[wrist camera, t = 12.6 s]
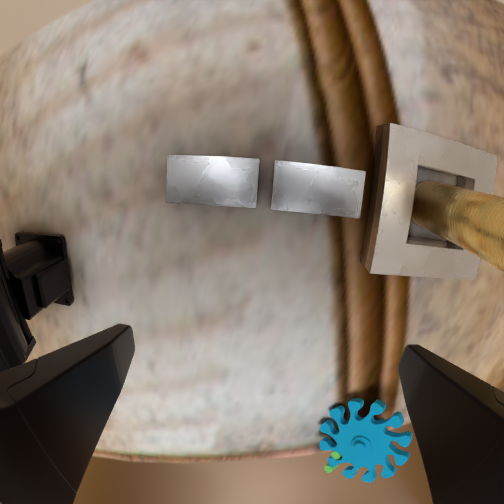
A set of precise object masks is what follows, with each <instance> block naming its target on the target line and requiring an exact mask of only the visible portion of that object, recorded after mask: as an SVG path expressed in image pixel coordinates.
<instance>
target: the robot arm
mask: <svg viewBox="0 0 504 504" xmlns="http://www.w3.org/2000/svg"><path fill="white" fill-rule="evenodd" d="M19 237H20V238H19ZM59 240H60V242H59ZM15 241H16V247H14V248H12V249H9V250H7V251H5V252H3V250H2V247H1V246H2V242H1V239H0V504H73V502H74V499H75V497H76V494H77V493H76V492H77V491H78V489H79V486H80V484H81V481H82V479H83V476H84V474H85V471H86V469H87V467H88V464H89V462H90V459H91V457H92V455H93V452H94V450H95V448H96V445H97V443H98V441H99V438H100V436H101V434H102V432H103V429H104V427H105V425H106V423H107V421H108V418H109V416H110V414H111V412H112V410H113V407H114V405H115V403H116V401H117V399H118V397H119V395H120V392H121V390H122V387H123V385H124V382H125V379H126V376H127V373H128V370H129V367H130V364H131V361H132V358H133V355H134V352H135V344H134V338H133V331H132V327H131V326H130V325H125V324H117V325H115V326H112V327H110V328H108V329H105V330H103V331H101V332H98V333H96V334H94V335H91V336H89V337H87V338H84V339H82V340H79V341H77V342H75V343H72V344H70V345H68V346H65V347H63V348H60V349H58V350H56V351H53V352H51V353H48V354H46V355H44V356H41V357H39V358H38V359H34V360H31V361H29V362H27V363H25V362H26V360H27V358H28V356H29V354H30V353H31V351H32V349H33V347H34V345H35V344H36V341H35V338H34V336H32V334H31V332H30V329H29V327H28V325H27V322H26V319H27V320H30V319H32V318H33V317H34V316H35V315H36V314H38V313H39V312H40V311H41V310H42V309H44V308H47V307H48V306H49V305H51V304H52V303H58V304H62V305H67V306H70V305H71V304H72V303H73V295H72V290H71V283H70V277H69V270H68V262H67V254H66V245H65V239H64V237H63V236H62V235H56V234H43V233H30V232H18V233H16V234H15ZM67 299H68V300H69V301H68V300H67ZM398 371H399V376H400V380H401V385H402V389H403V394H404V398H405V403H406V407H407V410H408V413H409V417H410V420H411V423H412V426H413V429H414V433H415V436H416V439H417V443H418V446H419V450H420V453H421V457H422V460H423V464H424V468H425V472H426V476H427V480H428V484H429V488H430V493H431V497H432V502H433V504H504V392H503V391H501V390H499V389H497V388H495V387H494V386H491V385H490V384H488V383H486V382H485V381H483V380H481V379H479V378H477V377H476V376H474V375H472V374H470V373H468V372H467V371H465V370H463V369H461V368H459V367H458V366H456V365H454V364H452V363H450V362H449V361H447V360H445V359H443V358H441V357H440V356H438V355H436V354H434V353H432V352H431V351H429V350H427V349H425V348H423V347H422V346H420V345H417V344H414V345H407V346H406V347H405V349H404V352H403V355H402V357H401V360H400V362H399V366H398Z"/></svg>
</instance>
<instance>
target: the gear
mask: <svg viewBox="0 0 504 504" xmlns="http://www.w3.org/2000/svg"><path fill="white" fill-rule="evenodd" d="M363 405H364V401H363V400H362V399H359V398H353V399H352V400H350V401H349V403H348V407H349V409H350V420H349V421H346V420H344V418H343V415H344V412H345V409H344V407H343V406H342V405H340V406H337V407H335V408H333V409H332V410H330V411H329V413H330V416H331V417H332V418H334V420H335V421H336V422H337V424H338V427H339V431H337V430H335V428H334V424H333V422H332V421H331V420H329V419H328V420H327V421H325V422H324V423H323V424H322V425H321V426H320V428H319V429H320V431H321V432H323V433H326V434H328V435H330V436H331V437H332V438H333V439H334V440H335V441H336V442H337V444H335V443H334V442H333V441H332V440H331V439H330V438H328V437H325V438H324V439H322V440H321V442H320V449H321V450H324V451H326V450H333V452H332V454H331V456H330V457H329V458H328V459H327V460H328V464H327V465H326V466H325V467H324V470H325V471H326V472H328V473H331V472H332V471H333V470H334V469H335V468H336V467H337V466H338V464H340V463H346V462H348V463H352V464H353V466H349V467H347V468H346V469H345V470H344V471H343V475H344V476H345V477H347V478H348V479H351V478H352V477H353V476H354V475H355V474H356V473H357V469H359V468H361V467H366V468H368V471H367V472H366V473H365V474H364V475H363V477H362V480H363V481H366V482H371V483H372V482H373V481H374V479H375V478H376V476H377V475H376V472H375V467H376V464H381V465H382V466H383V467H384V469H383V471H382V473H381V475H382V477H383V478H388V477H391V476H393V475H394V474H395V472H396V468H395V467H394V466H393V465H392V464H391V463H390V461H389V458H388V455H389V454H390V455H393V456H394V457H395V462H396V464H397V465H400V466H401V465H403V464H404V463H405V462H406V461H407V460H408V458H409V456H410V454H409V453H408V452H407V451H402V450H400V449H398V448H396V447H395V446H394V445H393V444H392V441H393V440H395V441H397V442H398V443H399V444H400V445H401V446H403V447H407V446H408V445H409V443H410V442H411V439H412V433H411V432H409V431H407V432H404V433H394V432H391V431H389V430H387V428H386V426H391V427H394V428H398V427H400V426H401V425H402V424H403V422H404V418H403V416H402V414H401V412H396V413H395V414H394V415H393V416H392V417H390V418H389V419H387V420H384V419H379V420H375V419H374V415H379V414H381V413H382V412H383V411H384V410H385V409H386V404H385V403H384V402H382V401H380V400H379V399H377V400H376V401H375V402H374V403H373V404H372V405H371V408H370V412H369V414H368V415H367V416H366V417H360V416H359V415H358V410H359V409H360V408H362V407H363Z"/></svg>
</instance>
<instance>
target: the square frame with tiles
mask: <svg viewBox="0 0 504 504" xmlns="http://www.w3.org/2000/svg"><path fill="white" fill-rule="evenodd" d="M259 162H260V159H254V158H240V157H221V156H195V155H168V160H167V184H166V203H184V204H202V205H217V206H232V207H246V208H256V201H257V188H258V175H259ZM496 165H497V156H495V155H492V154H490V153H487V152H484V151H482V150H479V149H476V148H474V147H471V146H468V145H465V144H462V143H459V142H456V141H453V140H450V139H447V138H444V137H441V136H437V135H434V134H431V133H427V132H424V131H420V130H416V129H412V128H409V127H405V126H401V125H397V124H392V123H388V124H384V125H380V126H377V135H376V148H375V159H374V169H373V178H372V187H371V195H370V203H369V210H368V217H367V224H366V230H365V236H364V242H363V248H362V253H361V259H360V262H361V263H362V265H363V266H364V267H365V268H366V269H367V270H368V272H369V273H371V274H386V275H400V276H416V277H431V278H448V279H464V280H475V279H476V275H477V272H478V268H479V264H480V261H481V258H480V257H478V256H476V255H474V254H473V253H471V252H469V251H467V250H465V249H463V248H462V247H460V246H458V245H456V244H454V243H452V242H450V241H447V242H446V241H439V240H431V239H423V238H416V237H407V236H408V231H409V225H410V220H411V214H412V207H413V200H414V193H415V186H416V177H417V168H418V166H419V167H423V168H427V169H431V170H436V171H440V172H443V173H447V174H451V175H455V176H458V179H457V187H461V188H466V189H470V190H475V191H479V192H483V193H487V194H491V195H493V193H494V185H495V176H496ZM365 173H366V171H360V170H353V169H346V168H339V167H332V166H324V165H316V164H308V163H299V162H289V161H279V160H275V162H274V175H273V187H272V198H271V210H282V211H293V212H303V213H313V214H323V215H333V216H342V217H351V218H359V219H360V213H361V206H362V198H363V190H364V182H365Z"/></svg>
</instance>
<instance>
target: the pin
mask: <svg viewBox="0 0 504 504" xmlns="http://www.w3.org/2000/svg"><path fill="white" fill-rule="evenodd" d="M411 218H412V220H413V221H414V222H415V223H416V224H417V225H419V226H421V227H423V228H425V229H427V230H429V231H431V232H433V233H435V234H437V235H439V236H441V237H443V238H445V239H446V240H448V241H450V242H452V243H454V244H456V245H458V246H460V247H462V248H463V249H465V250H467V251H469V252H471V253H473V254H474V255H476V256H478V257H480V258H481V259H483V260H485V261H487V262H488V263H490V264H492V265H494V266H495V267H497V268H499V269H500V270H502V271H504V198H503V197H499V196H495V195H491V194H487V193H483V192H479V191H475V190H470V189H466V188H461V187H457V186H452V185H447V184H442V183H437V182H432V181H423V182H421V183H419V184H417V185H416V186H415V193H414V200H413V207H412V214H411Z"/></svg>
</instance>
